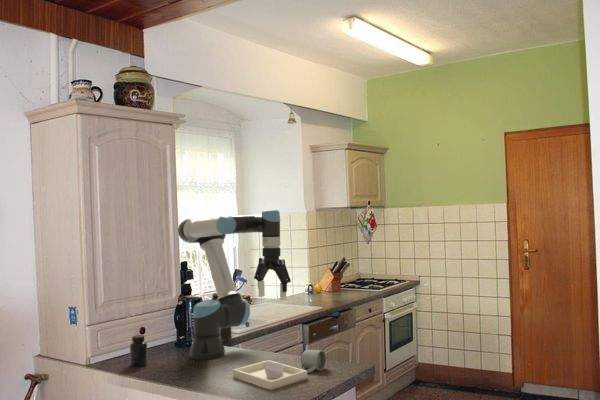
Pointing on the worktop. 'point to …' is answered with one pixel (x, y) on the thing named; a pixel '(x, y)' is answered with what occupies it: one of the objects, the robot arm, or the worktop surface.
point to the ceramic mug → (313, 360)
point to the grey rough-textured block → (273, 370)
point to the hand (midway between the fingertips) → (272, 298)
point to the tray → (259, 377)
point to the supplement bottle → (138, 351)
